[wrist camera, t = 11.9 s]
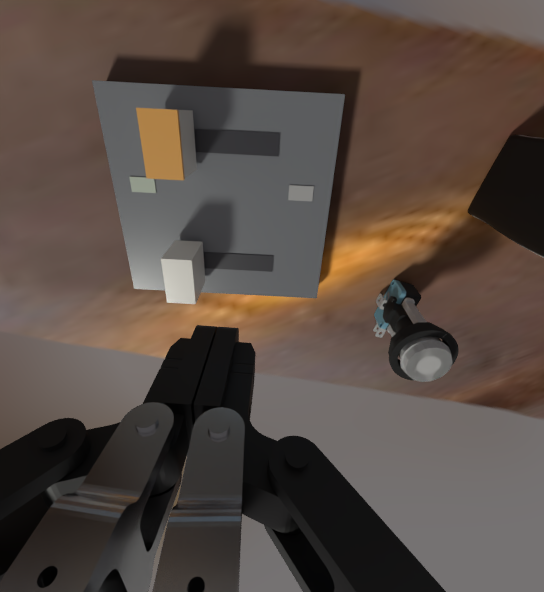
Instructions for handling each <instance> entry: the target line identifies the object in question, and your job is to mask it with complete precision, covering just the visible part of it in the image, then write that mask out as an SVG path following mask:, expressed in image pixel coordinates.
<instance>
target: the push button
mask: <svg viewBox="0 0 544 592" xmlns="http://www.w3.org/2000/svg"><path fill="white" fill-rule="evenodd" d="M379 298H381V299H380V301H379ZM420 299H421V295H420V294H419V292H418V291H417V290H416V288H415V287H414V286H413V285H412V284H408V283H405V282H401V281H397V280H392V282H391V284H390V286H389V288H388V290H387V292H386V293H385V295H384V297H383V296H382V294H381V293H380V294H379V296H378V298H377V299H376V303H377V305H378V308H377V310H376V312H375V314H374V316H375V319H376V323H377V324H376V326H375V328H374V329H373V331H375V332H377V333H376V335H375V336H377V337H383V335H384V333H385V331H386V330H387V331H388V333H390V334H391V336H392V338H391V342H390V347H389V352H388V353H389V362H390V365H391V367H392V369H393V371H394V372H395V373H396V374H397V375H399V376H400V377H402V378H405V379H408V380H416V381H421V382H424V381H433V380H435V379H437V378H440V377H442V376H443V375H444V374H445V373H447V372H448V371H449V369H450V367H451V366H452V365H453V363H454V362H455V360H456V358H457V356H458V345H457V342H456V341H455V339H454V338H453V337H452V335H450V334H449V333H448V332H446V331H444V330H443V329H441V328H439V327H437V326H436V325H434V324H432V323H429V322H426V320H425V319H424V317H423V316H422V315H421V313H420V312H419V310H418V309H417V307H416V305H417V304H418V302H419V301H420ZM377 327H378V328H379V329H376V328H377ZM379 332H382V334H379ZM439 338H441V339H442V342H441V340H440V339H439ZM398 355H399V357H400V359H401V360H399V359H398Z"/></svg>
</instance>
